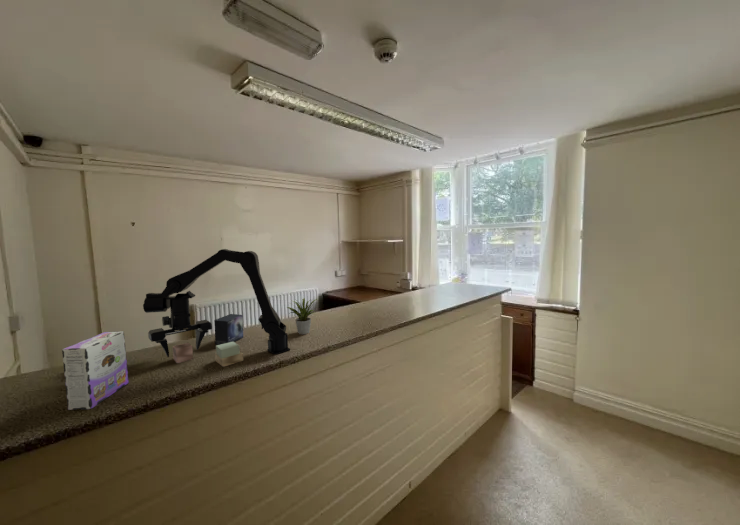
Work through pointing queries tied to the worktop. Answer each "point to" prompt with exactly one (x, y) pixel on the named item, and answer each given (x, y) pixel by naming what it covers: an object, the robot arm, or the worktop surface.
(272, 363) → the worktop surface
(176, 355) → the rose cube
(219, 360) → the beech base block
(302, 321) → the house plant
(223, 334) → the small box
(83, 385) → the candy box
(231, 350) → the sage top block
